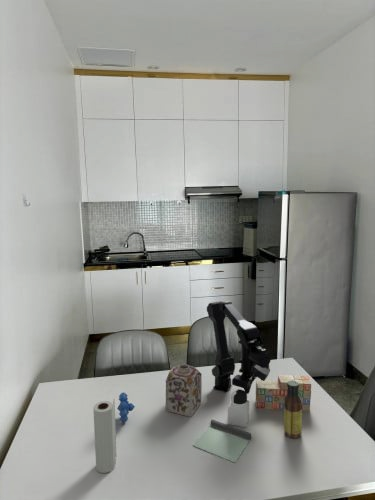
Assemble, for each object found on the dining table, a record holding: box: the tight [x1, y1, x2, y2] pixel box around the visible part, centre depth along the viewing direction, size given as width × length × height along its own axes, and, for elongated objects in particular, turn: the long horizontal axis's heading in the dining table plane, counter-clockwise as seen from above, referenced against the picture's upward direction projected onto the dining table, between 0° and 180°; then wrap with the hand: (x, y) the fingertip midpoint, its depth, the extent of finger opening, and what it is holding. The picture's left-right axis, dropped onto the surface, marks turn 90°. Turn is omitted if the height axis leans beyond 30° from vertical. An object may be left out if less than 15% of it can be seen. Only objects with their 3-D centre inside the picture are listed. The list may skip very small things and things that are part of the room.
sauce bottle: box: [283, 381, 303, 439], centre depth 131 cm, size 6×6×20 cm
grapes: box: [117, 392, 136, 424], centre depth 139 cm, size 12×7×12 cm, turn 10°
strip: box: [210, 419, 252, 441], centre depth 134 cm, size 16×1×2 cm, turn 59°
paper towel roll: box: [93, 399, 117, 474], centre depth 115 cm, size 7×6×21 cm
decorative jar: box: [165, 363, 203, 418], centre depth 148 cm, size 12×12×18 cm
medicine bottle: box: [227, 388, 250, 428], centre depth 139 cm, size 7×7×12 cm
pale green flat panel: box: [192, 426, 250, 464], centre depth 127 cm, size 16×12×1 cm
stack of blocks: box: [255, 374, 312, 413], centre depth 149 cm, size 21×6×12 cm, turn 84°
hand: (247, 393), depth 147 cm, fingers closed
